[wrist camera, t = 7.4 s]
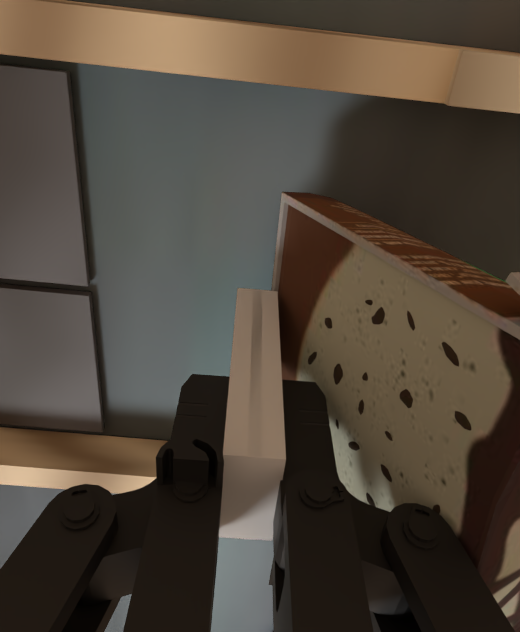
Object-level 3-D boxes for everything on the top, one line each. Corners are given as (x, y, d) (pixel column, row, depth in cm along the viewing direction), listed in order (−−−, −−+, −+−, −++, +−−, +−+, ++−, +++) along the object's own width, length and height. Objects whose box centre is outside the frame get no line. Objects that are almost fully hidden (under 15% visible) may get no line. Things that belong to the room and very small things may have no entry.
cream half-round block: (384, 428, 22) (578, 677, 14) (252, 458, 20) (393, 771, 12) (471, 137, 15) (926, 297, 7) (287, 136, 13) (651, 358, 5)
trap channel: (-97, 437, 22) (-132, 480, 20) (-292, -42, 13) (-393, -49, 11) (559, 491, 23) (585, 536, 21) (821, 87, 14) (911, 102, 12)
